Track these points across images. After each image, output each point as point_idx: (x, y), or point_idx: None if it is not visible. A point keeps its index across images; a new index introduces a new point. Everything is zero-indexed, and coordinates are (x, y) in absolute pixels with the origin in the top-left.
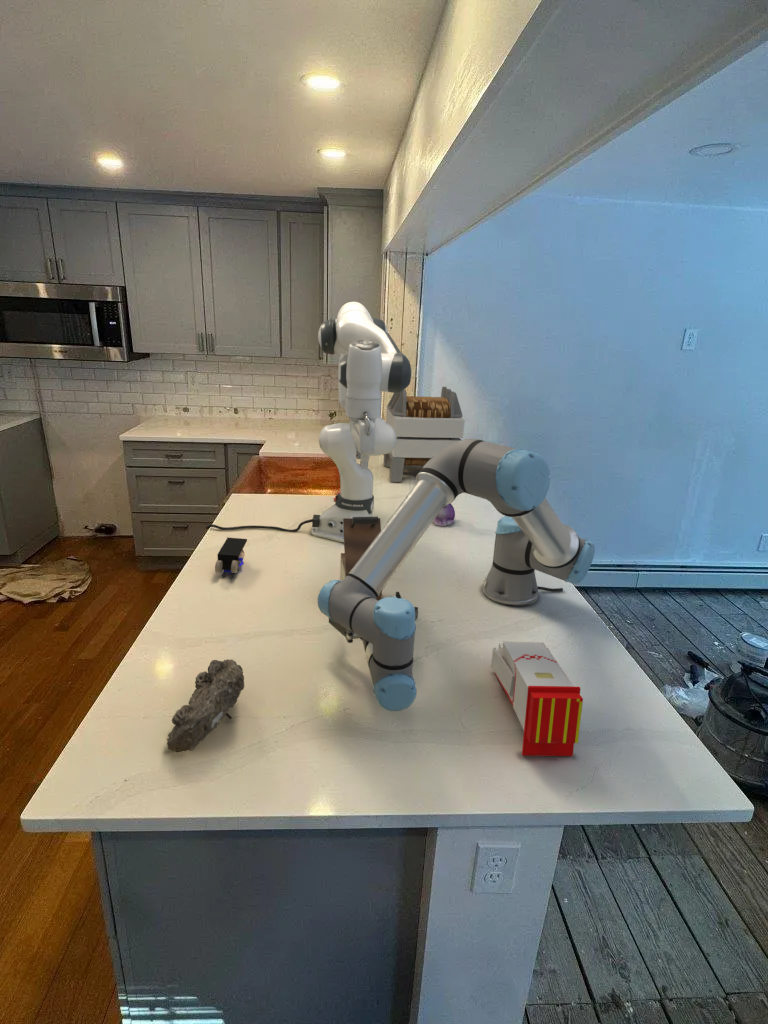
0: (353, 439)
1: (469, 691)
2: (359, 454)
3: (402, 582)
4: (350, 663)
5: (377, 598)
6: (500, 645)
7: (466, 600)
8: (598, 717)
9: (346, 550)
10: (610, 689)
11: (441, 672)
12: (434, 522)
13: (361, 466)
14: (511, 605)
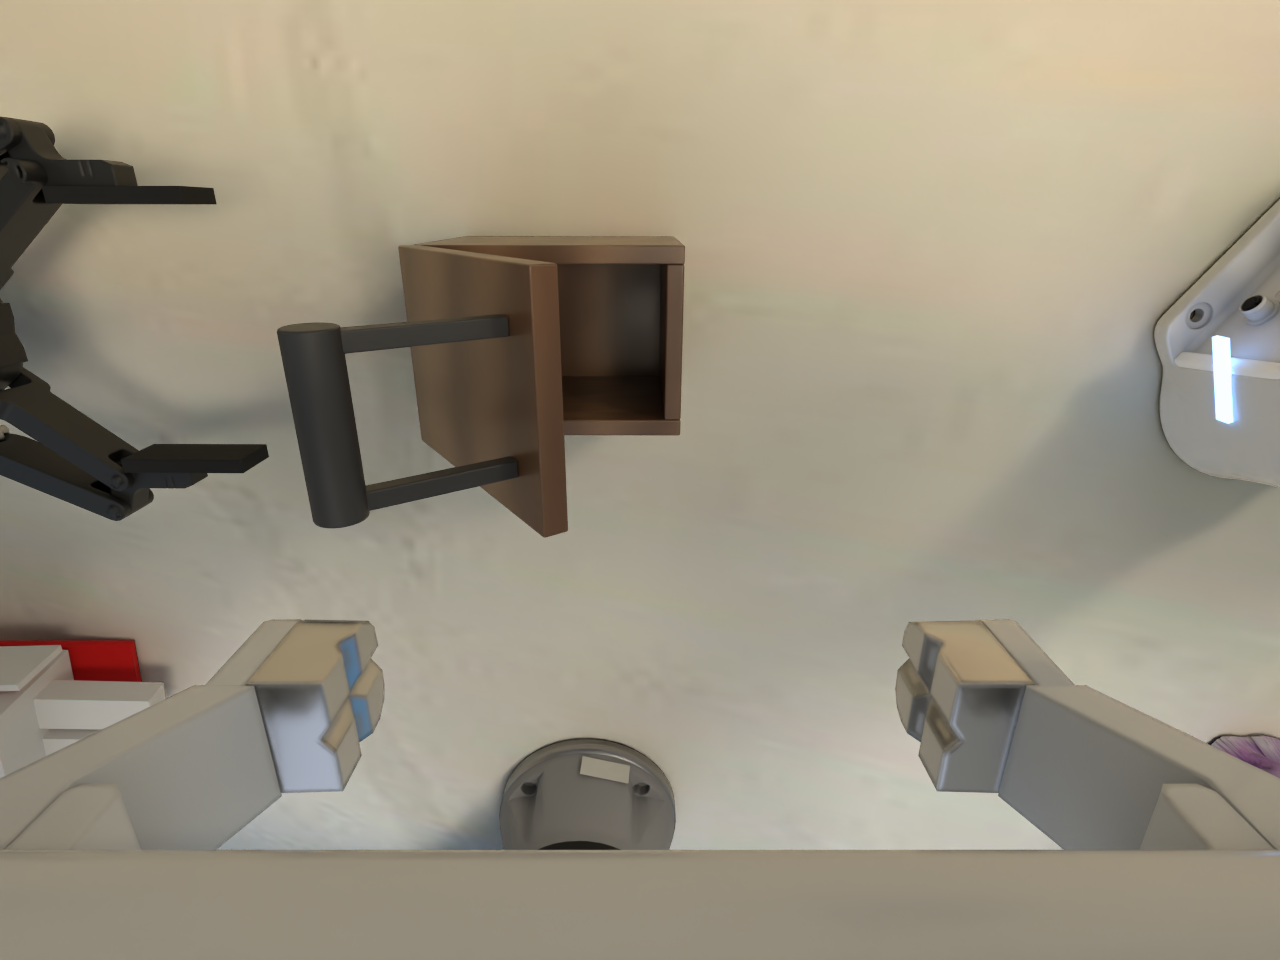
0: (1156, 897)
1: (38, 555)
2: (938, 706)
3: (706, 503)
4: (113, 221)
5: None
6: (127, 701)
7: (551, 678)
8: None
9: (437, 262)
10: None
11: None
12: (1248, 738)
13: (257, 637)
14: (505, 786)
